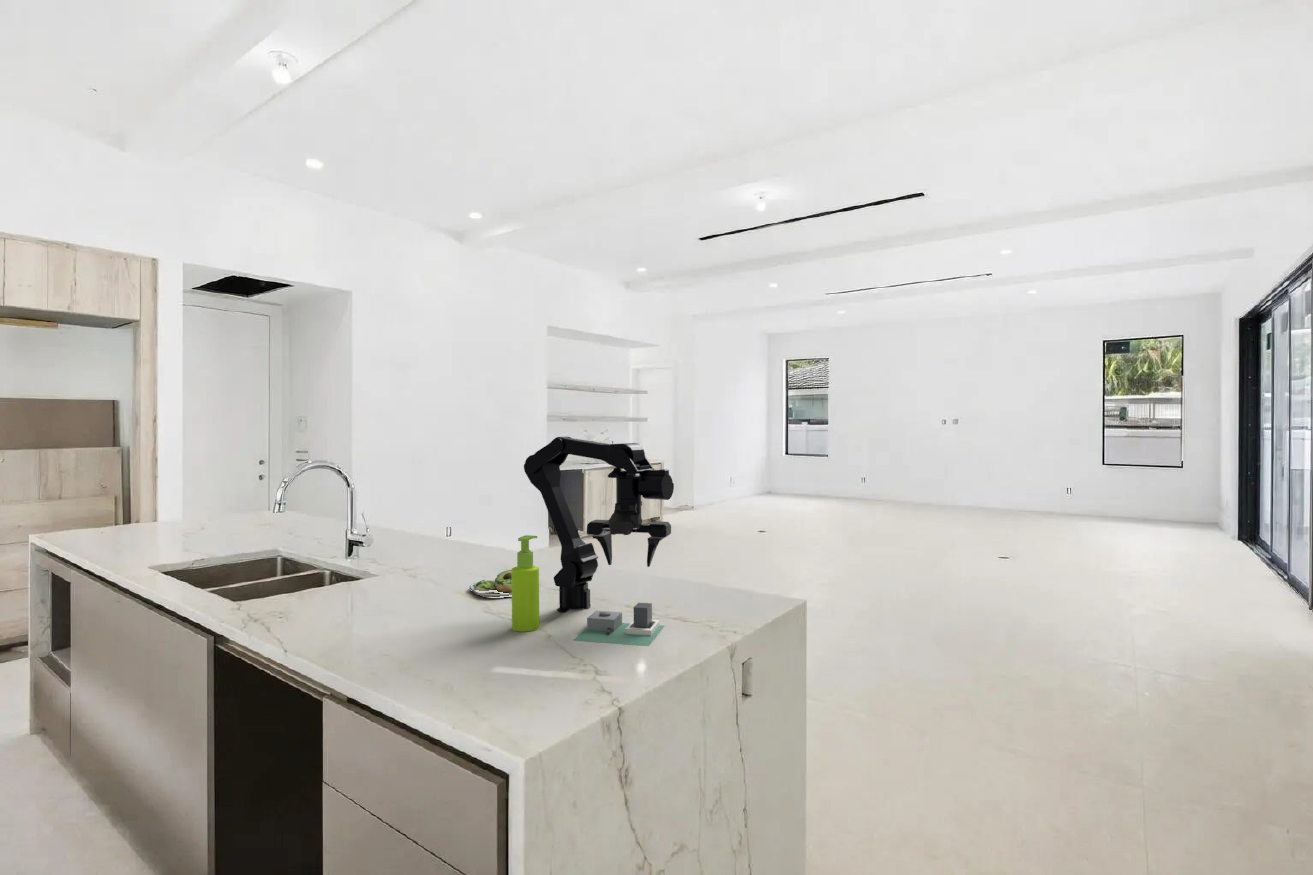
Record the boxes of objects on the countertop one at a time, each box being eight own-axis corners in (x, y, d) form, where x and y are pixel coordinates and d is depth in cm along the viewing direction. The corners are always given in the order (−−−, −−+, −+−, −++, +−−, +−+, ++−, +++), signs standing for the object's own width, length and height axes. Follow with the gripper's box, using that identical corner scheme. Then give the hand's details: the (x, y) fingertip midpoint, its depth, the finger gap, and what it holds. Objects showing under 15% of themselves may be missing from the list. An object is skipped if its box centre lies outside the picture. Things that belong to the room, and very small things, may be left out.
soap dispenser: (546, 623, 156) (545, 534, 155) (530, 632, 149) (530, 539, 149) (523, 621, 158) (522, 533, 157) (506, 630, 151) (506, 538, 151)
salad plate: (551, 597, 181) (551, 579, 181) (482, 605, 173) (482, 587, 173) (528, 582, 198) (528, 565, 198) (465, 589, 190) (465, 572, 190)
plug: (633, 630, 147) (633, 607, 147) (639, 624, 152) (639, 601, 152) (647, 631, 146) (647, 608, 146) (653, 625, 151) (653, 602, 151)
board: (572, 644, 141) (572, 625, 141) (595, 624, 155) (595, 607, 155) (648, 649, 137) (648, 631, 137) (665, 628, 151) (665, 611, 151)
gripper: (578, 500, 154) (578, 571, 154) (660, 502, 150) (660, 575, 150) (594, 495, 165) (594, 561, 165) (671, 497, 160) (671, 564, 161)
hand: (629, 565), depth 160 cm, fingers open, 9 cm apart
